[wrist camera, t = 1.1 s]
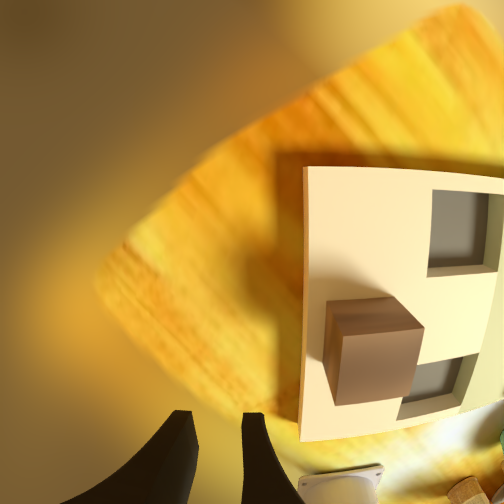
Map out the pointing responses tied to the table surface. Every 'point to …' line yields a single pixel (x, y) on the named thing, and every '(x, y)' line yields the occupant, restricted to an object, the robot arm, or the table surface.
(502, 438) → the cupcake
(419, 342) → the walnut block
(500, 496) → the mate gourd
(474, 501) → the sprinkles bottle
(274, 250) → the table surface
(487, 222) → the board
